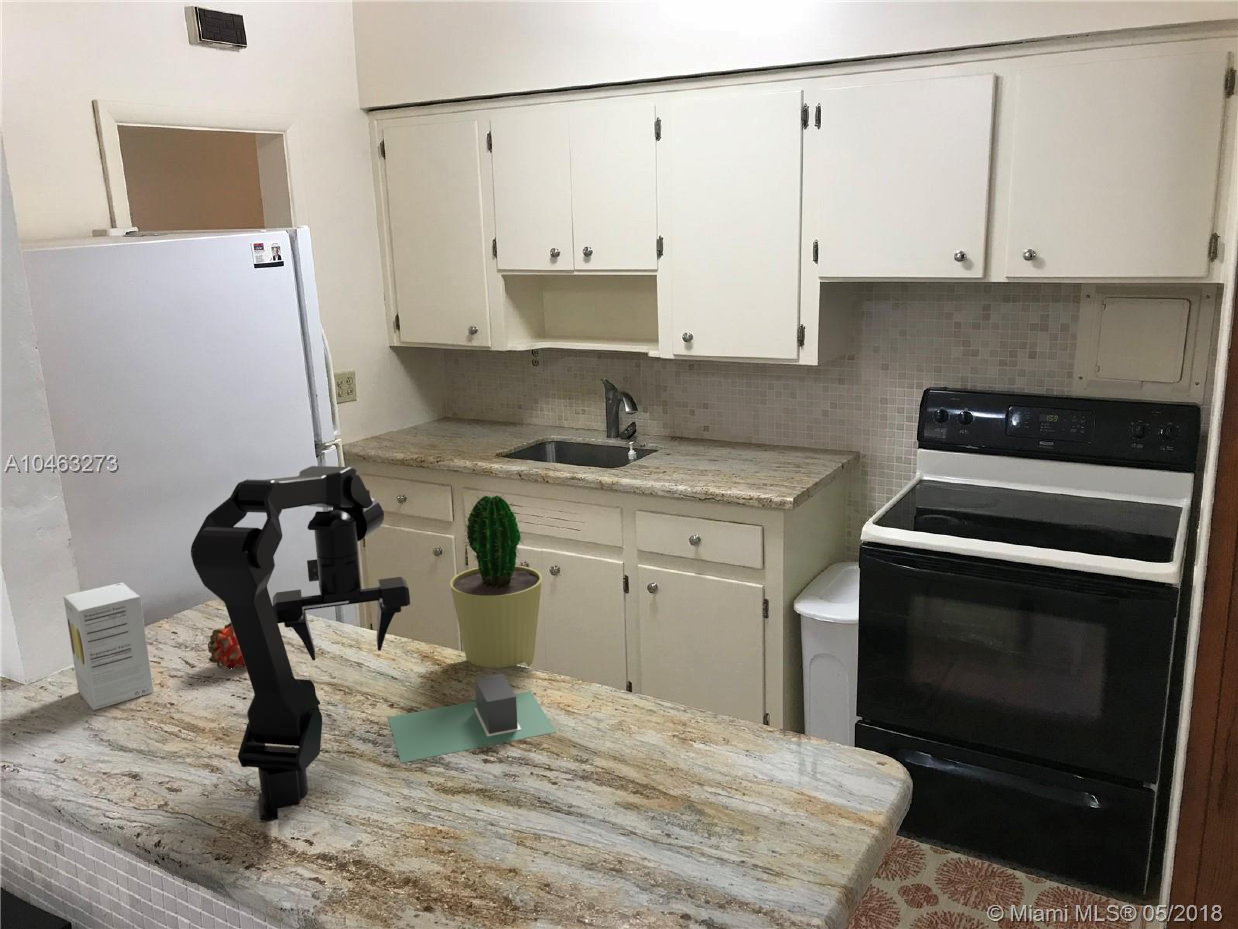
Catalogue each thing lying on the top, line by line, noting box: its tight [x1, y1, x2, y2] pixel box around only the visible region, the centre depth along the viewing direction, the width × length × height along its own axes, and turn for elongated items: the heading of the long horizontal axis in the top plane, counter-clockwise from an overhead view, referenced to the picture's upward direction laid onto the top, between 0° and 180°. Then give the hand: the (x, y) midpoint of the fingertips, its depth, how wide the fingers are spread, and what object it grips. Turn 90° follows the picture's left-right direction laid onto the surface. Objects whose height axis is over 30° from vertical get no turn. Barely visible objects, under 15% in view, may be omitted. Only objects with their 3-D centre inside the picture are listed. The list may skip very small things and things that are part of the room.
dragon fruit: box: [207, 622, 246, 670], centre depth 168 cm, size 8×8×12 cm
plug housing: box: [474, 673, 518, 734], centre depth 144 cm, size 11×4×5 cm, turn 20°
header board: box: [387, 690, 557, 764], centre depth 142 cm, size 14×22×4 cm, turn 110°
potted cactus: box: [449, 494, 543, 669], centre depth 164 cm, size 15×15×30 cm
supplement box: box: [63, 582, 154, 711], centre depth 157 cm, size 10×9×17 cm
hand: (346, 654), depth 142 cm, fingers open, 9 cm apart
